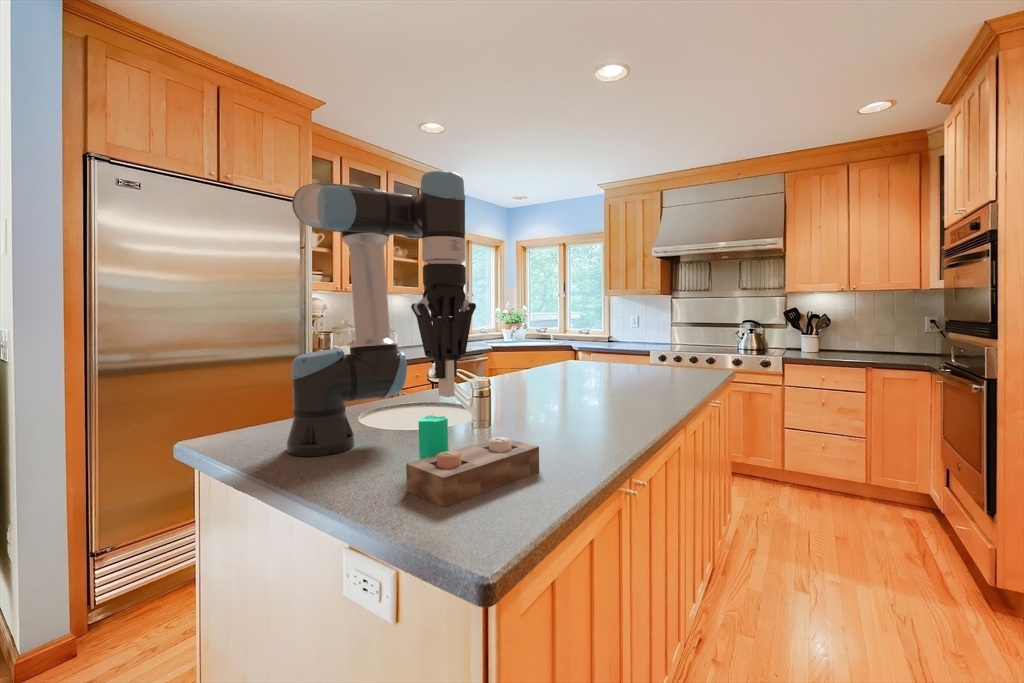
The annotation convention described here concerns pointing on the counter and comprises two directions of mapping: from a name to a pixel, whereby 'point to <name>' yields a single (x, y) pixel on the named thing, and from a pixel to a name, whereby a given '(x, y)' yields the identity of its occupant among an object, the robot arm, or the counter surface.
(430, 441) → the candle
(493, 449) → the knob far
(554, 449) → the counter surface
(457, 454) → the knob near
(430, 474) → the mount
